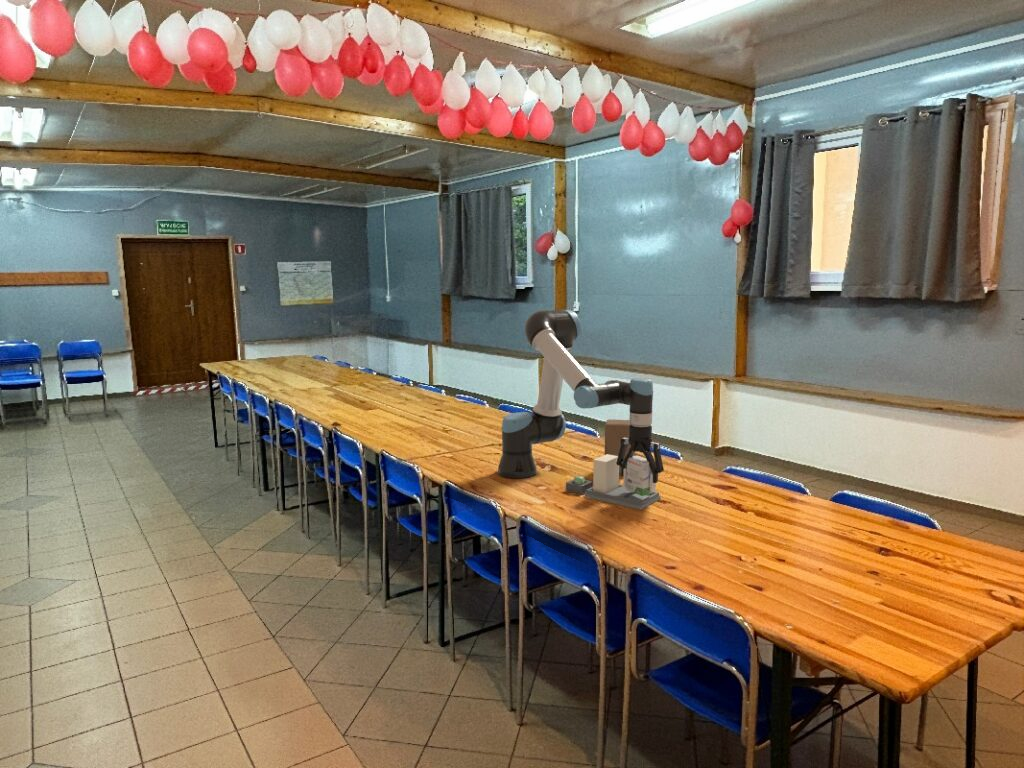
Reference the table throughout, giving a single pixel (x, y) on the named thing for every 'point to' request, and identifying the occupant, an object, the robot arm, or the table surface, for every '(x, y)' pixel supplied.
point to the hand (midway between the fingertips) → (639, 488)
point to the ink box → (638, 475)
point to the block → (616, 437)
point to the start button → (579, 480)
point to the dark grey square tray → (578, 486)
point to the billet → (606, 474)
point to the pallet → (624, 497)
